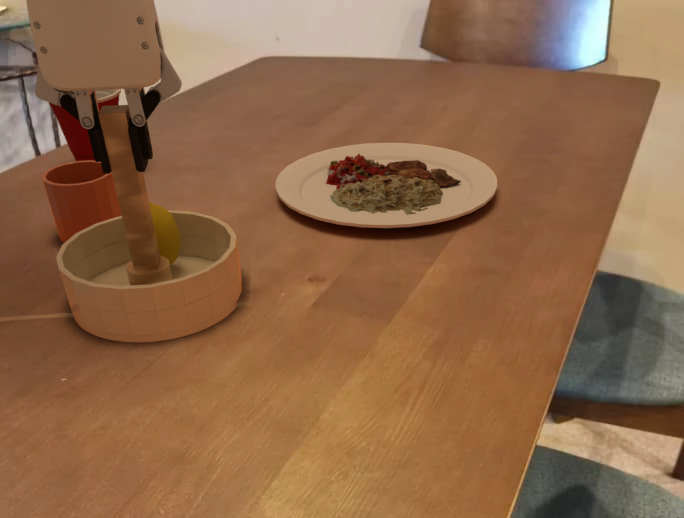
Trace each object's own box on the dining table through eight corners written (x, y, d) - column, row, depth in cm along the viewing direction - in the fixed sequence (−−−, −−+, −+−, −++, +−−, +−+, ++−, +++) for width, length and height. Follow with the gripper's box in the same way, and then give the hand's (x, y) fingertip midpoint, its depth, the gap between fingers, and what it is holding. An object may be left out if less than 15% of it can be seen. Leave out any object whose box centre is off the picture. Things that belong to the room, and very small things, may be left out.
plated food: (455, 256, 84) (458, 228, 82) (235, 218, 94) (232, 192, 92) (520, 169, 105) (524, 145, 102) (333, 146, 115) (332, 123, 112)
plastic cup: (86, 191, 103) (62, 101, 95) (52, 172, 109) (27, 85, 101) (152, 171, 108) (135, 84, 100) (116, 154, 114) (97, 70, 106)
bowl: (55, 348, 72) (37, 293, 68) (90, 264, 85) (76, 215, 81) (240, 336, 72) (232, 282, 68) (244, 255, 86) (238, 206, 82)
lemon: (171, 286, 79) (156, 215, 74) (127, 279, 80) (110, 209, 75) (194, 264, 83) (182, 194, 78) (152, 258, 84) (137, 189, 79)
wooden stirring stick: (127, 296, 74) (84, 117, 63) (134, 276, 78) (93, 103, 66) (171, 294, 75) (135, 115, 63) (175, 274, 78) (141, 100, 66)
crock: (54, 252, 88) (34, 187, 83) (68, 224, 94) (50, 162, 89) (122, 248, 88) (106, 183, 83) (132, 221, 94) (117, 158, 89)
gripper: (183, -82, 59) (214, 150, 71) (-18, -74, 58) (49, 158, 71) (173, -72, 53) (209, 178, 66) (-48, -64, 53) (30, 187, 65)
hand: (126, 166), depth 68 cm, fingers closed on wooden stirring stick, 2 cm apart
